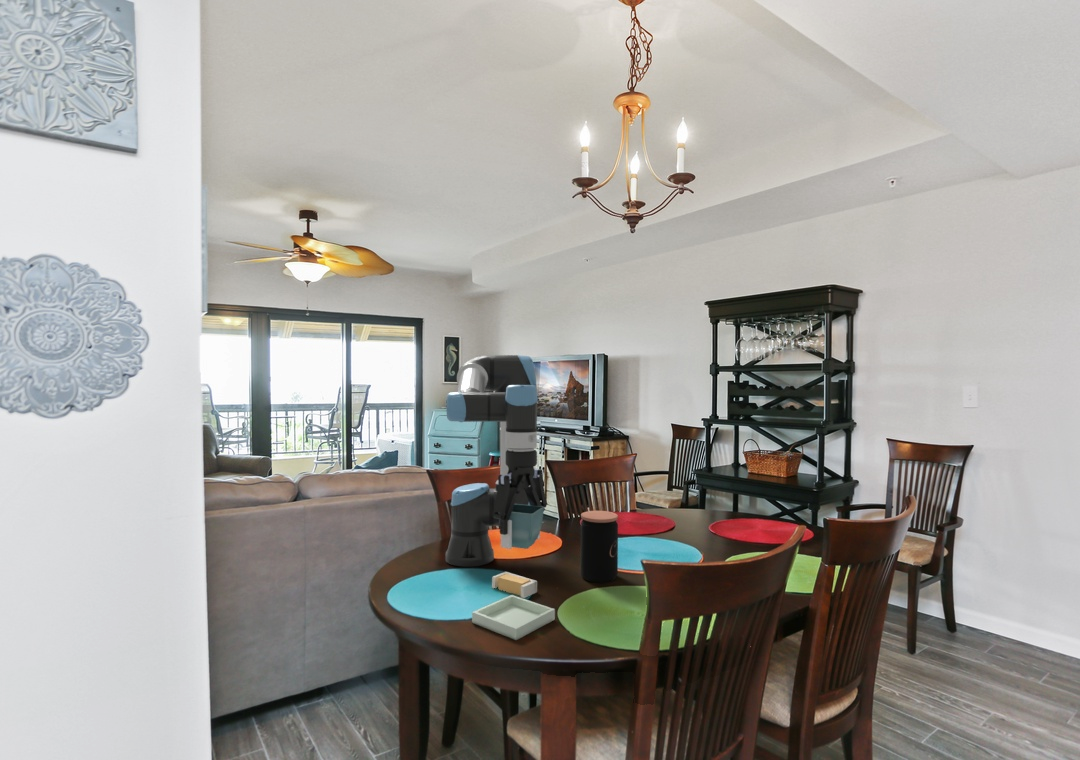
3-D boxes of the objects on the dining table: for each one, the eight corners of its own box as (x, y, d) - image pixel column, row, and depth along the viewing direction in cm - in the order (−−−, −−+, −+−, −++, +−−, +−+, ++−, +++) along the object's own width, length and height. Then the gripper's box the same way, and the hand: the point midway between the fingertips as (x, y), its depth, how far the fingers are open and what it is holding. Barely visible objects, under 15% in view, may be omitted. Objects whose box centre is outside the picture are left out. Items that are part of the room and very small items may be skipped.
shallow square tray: (472, 622, 133) (472, 612, 133) (511, 604, 144) (511, 594, 144) (516, 640, 125) (516, 628, 125) (554, 619, 135) (554, 609, 135)
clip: (492, 587, 156) (492, 576, 156) (505, 582, 160) (505, 571, 160) (523, 598, 148) (523, 586, 148) (537, 592, 153) (537, 581, 153)
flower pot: (544, 542, 139) (544, 505, 139) (532, 552, 130) (533, 513, 131) (511, 539, 142) (511, 503, 142) (497, 549, 133) (497, 510, 133)
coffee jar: (616, 585, 158) (616, 520, 158) (578, 582, 160) (578, 518, 160) (618, 572, 169) (619, 511, 169) (582, 569, 171) (583, 509, 171)
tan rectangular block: (498, 590, 154) (498, 577, 154) (506, 586, 157) (506, 573, 157) (522, 596, 150) (522, 583, 150) (529, 592, 153) (530, 579, 153)
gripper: (501, 455, 125) (501, 557, 125) (561, 446, 143) (561, 535, 142) (476, 452, 129) (476, 550, 129) (538, 444, 147) (537, 530, 147)
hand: (520, 542), depth 136 cm, fingers closed on flower pot, 10 cm apart
